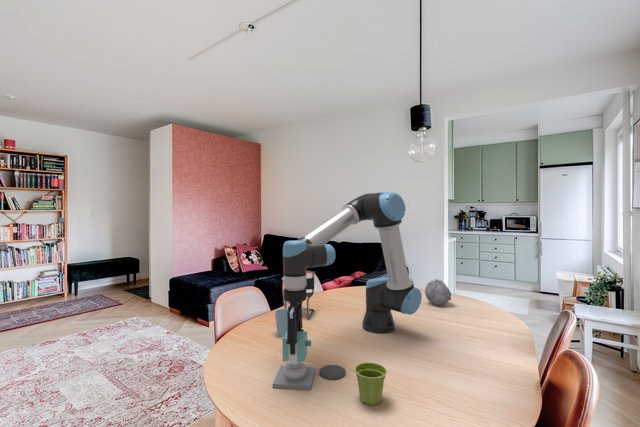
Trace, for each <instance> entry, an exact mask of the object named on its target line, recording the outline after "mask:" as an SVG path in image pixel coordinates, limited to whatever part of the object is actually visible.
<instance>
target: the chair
mask: <svg viewBox="0 0 640 427" xmlns="http://www.w3.org/2000/svg"><path fill="white" fill-rule="evenodd" d="M306 274H312V275H311V277H310V278H309V277H306V282H307V286H306V287H305V288H306V291H307V290H311V292H306V307H305V308H304V307H302V311H306V319H307V320H310V319H311V317H312V316H313V315H314V313H315V309H313V308H310V299H311V298H312V297H313V296H314V293H315V274H316V271H311V270H306ZM287 303H288V302H286V301H285V300H284V309H288V306H287V305H288V304H287Z"/></svg>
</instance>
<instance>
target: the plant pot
mask: <svg viewBox="0 0 640 427" xmlns="http://www.w3.org/2000/svg"><path fill="white" fill-rule="evenodd" d="M353 370H354V373H355V376H356V378H357V385H358V390H359V391H358V392H359V398H360V401H361V402H362V403H365V404H366V405H368V406H376V405H378V404H380V403H381V402H382V398H383V390H384V383H385V379H386V376H387V373H388V370H387V368H386V367H385V366H384V365H382V364H380V363H376V362H367V361H366V362H361V363H358V364H356V365H355V366H354V369H353Z"/></svg>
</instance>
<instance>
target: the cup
mask: <svg viewBox="0 0 640 427" xmlns="http://www.w3.org/2000/svg"><path fill="white" fill-rule="evenodd" d="M287 312H288V308H287V309H285V308H280V309H276V310H275V311H274V315H275V316H274V317H275V325H276V332H277V333H276V334H277V336H278V337H280V338H283V337H284V335H285V334H286V332H287V327H288V317H287Z"/></svg>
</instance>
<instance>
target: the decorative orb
mask: <svg viewBox="0 0 640 427" xmlns="http://www.w3.org/2000/svg"><path fill="white" fill-rule="evenodd" d="M424 288H425V289H424V294H425V298H426V299H427V300H428V301H429V303H431V304H433V305H435V306H444V305H446V304H448V303H449V301H452V300H451V299H452V292H451V290H450V289H449V288H448V286H447V284H445V282H444V281H443V280H440V279H438V278H437V279H435V280H434V279H433V280H431V281H429V282H428V283H427V284H426V286H425V287H424Z"/></svg>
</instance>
